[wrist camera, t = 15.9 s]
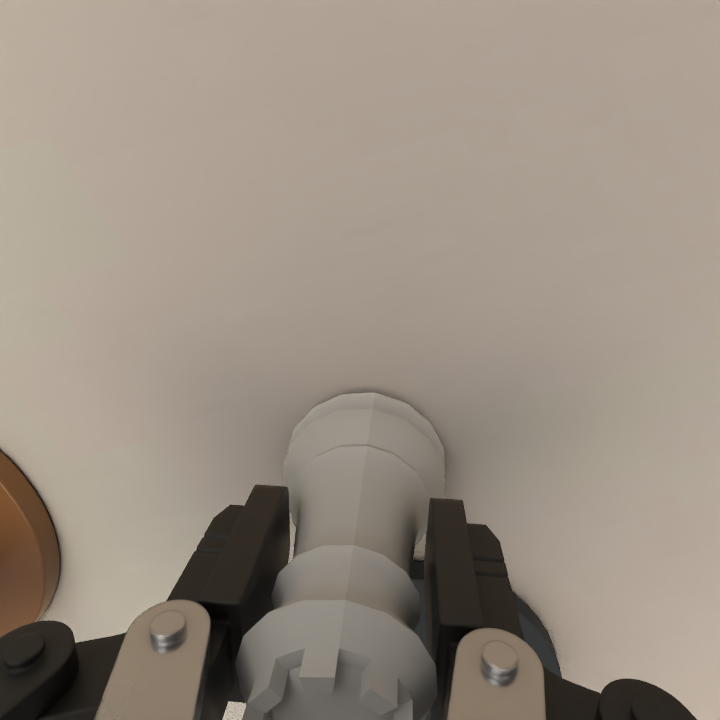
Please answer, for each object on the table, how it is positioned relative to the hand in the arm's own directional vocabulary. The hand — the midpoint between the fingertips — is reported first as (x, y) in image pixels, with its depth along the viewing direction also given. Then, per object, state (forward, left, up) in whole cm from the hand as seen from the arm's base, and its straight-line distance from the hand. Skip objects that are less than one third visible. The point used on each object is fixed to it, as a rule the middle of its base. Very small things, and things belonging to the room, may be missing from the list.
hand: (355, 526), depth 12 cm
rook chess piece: (0, 0, -3) cm, 3 cm away
